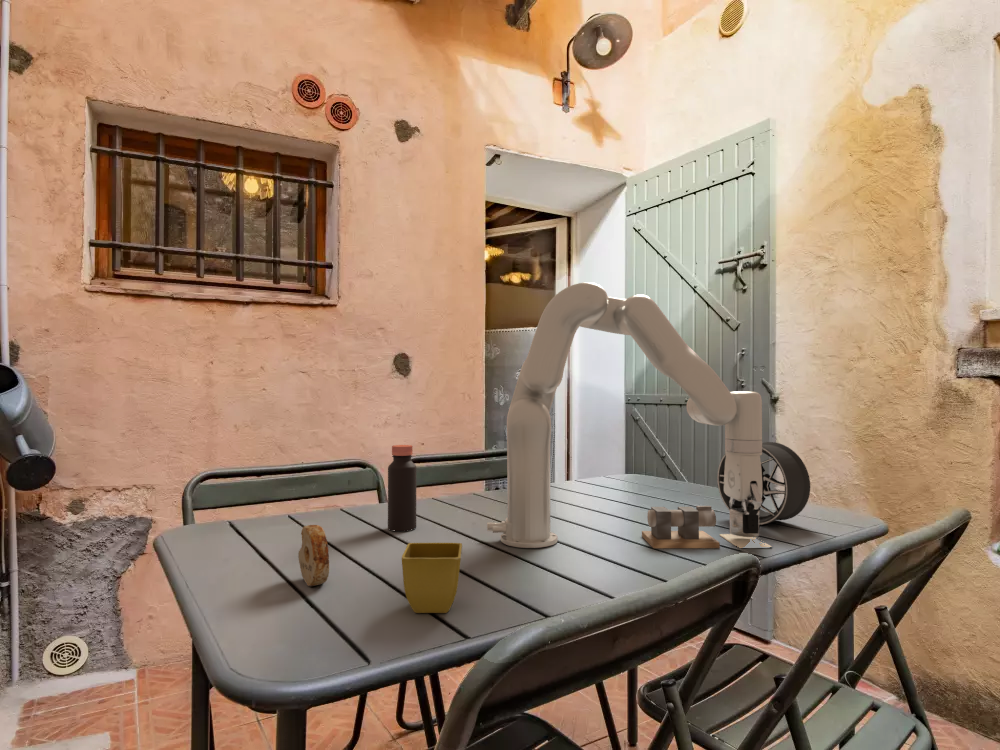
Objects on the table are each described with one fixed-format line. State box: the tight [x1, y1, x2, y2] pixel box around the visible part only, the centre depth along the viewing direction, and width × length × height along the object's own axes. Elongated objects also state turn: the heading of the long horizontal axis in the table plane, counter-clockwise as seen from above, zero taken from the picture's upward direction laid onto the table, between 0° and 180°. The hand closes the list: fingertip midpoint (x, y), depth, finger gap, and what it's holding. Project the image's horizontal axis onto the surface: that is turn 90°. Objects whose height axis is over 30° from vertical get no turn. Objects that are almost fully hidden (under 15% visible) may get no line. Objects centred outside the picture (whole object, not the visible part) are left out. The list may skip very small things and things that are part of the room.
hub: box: [729, 508, 760, 538], centre depth 129 cm, size 6×6×5 cm
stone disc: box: [297, 524, 330, 587], centre depth 103 cm, size 10×4×10 cm, turn 30°
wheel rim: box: [716, 441, 811, 526], centre depth 148 cm, size 20×9×20 cm, turn 30°
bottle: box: [387, 444, 417, 532], centre depth 142 cm, size 7×7×20 cm
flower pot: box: [401, 542, 463, 614], centre depth 91 cm, size 9×9×9 cm
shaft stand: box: [641, 505, 721, 549], centre depth 129 cm, size 14×10×8 cm
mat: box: [719, 533, 773, 549], centre depth 129 cm, size 7×11×1 cm, turn 0°
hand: (744, 528), depth 129 cm, fingers closed on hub, 6 cm apart
